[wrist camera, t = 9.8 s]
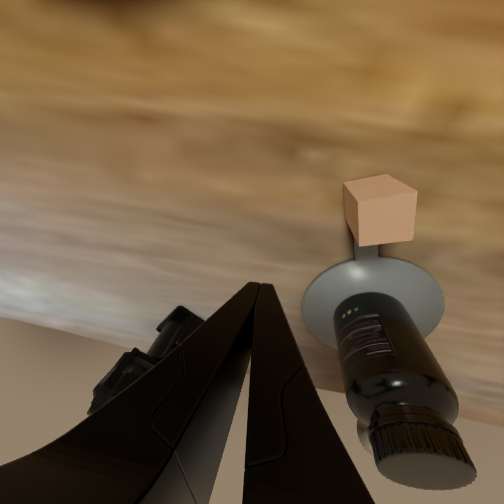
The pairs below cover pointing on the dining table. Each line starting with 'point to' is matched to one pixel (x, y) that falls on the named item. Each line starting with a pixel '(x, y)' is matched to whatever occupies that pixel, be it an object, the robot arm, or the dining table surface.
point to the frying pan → (374, 260)
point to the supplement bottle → (400, 394)
